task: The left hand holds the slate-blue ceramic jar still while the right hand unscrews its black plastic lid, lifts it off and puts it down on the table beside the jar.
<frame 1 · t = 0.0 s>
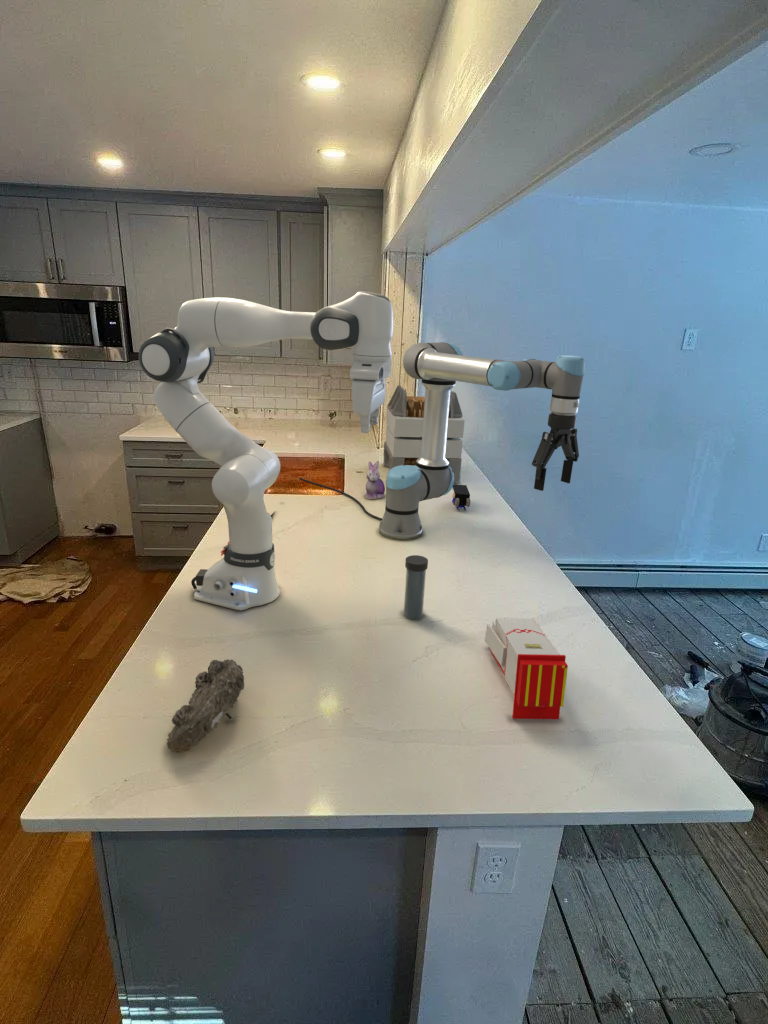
left hand: (369, 428, 133), 48 cm above the counter, tool pointing down, fingers open, 8 cm apart
right hand: (552, 485, 166), 28 cm above the counter, tool pointing down, fingers open, 13 cm apart
jar: (413, 614, 148), on the counter
fossil: (212, 717, 108), on the counter
white slatted box: (419, 473, 275), on the counter
lid: (416, 561, 142), point 15 cm above the counter, screwed on, not yet turned
toy: (517, 677, 124), on the counter
figurine: (374, 496, 238), on the counter
feather: (273, 515, 212), on the counter
figurine character: (459, 506, 231), on the counter
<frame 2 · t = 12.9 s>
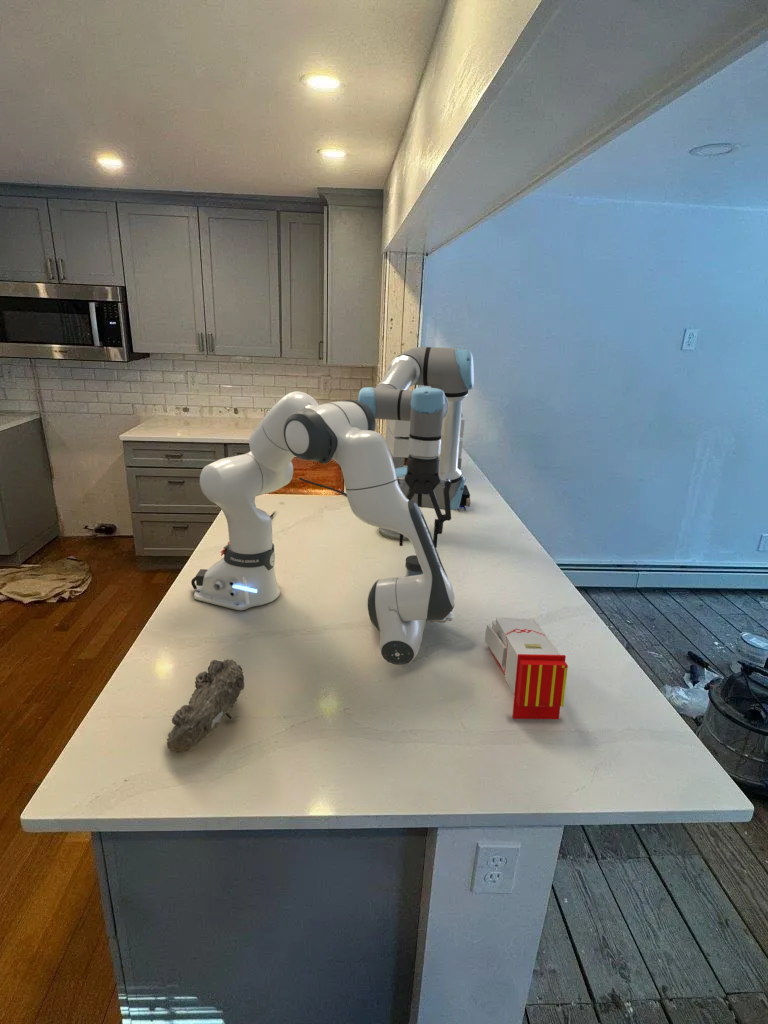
left hand: (414, 589, 146), 7 cm above the counter, tool horizontal, fingers closed on jar, 5 cm apart
right hand: (417, 544, 141), 20 cm above the counter, tool pointing down, fingers open, 8 cm apart
jar: (413, 614, 148), on the counter, touching left hand
everything else where it was.
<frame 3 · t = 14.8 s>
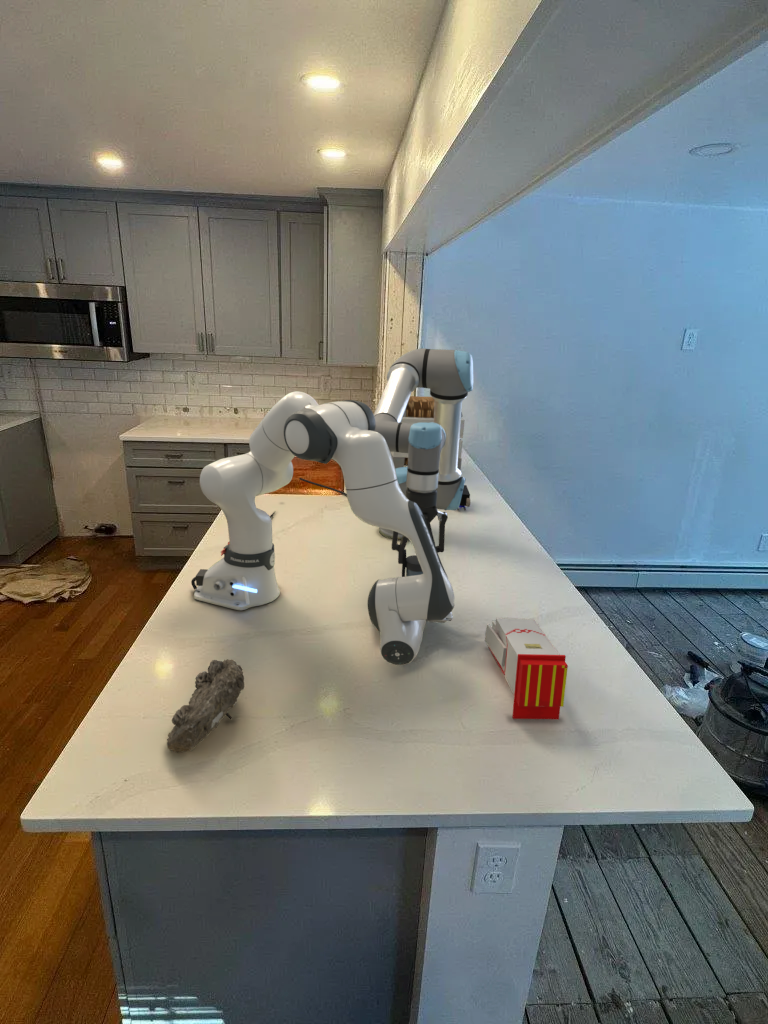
left hand: (414, 589, 146), 7 cm above the counter, tool horizontal, fingers closed on jar, 5 cm apart
right hand: (415, 575, 144), 11 cm above the counter, tool pointing down, fingers closed on lid, 6 cm apart
jar: (413, 614, 148), on the counter, touching left hand
lid: (416, 561, 142), point 15 cm above the counter, screwed on, not yet turned, touching right hand
everything else where it was.
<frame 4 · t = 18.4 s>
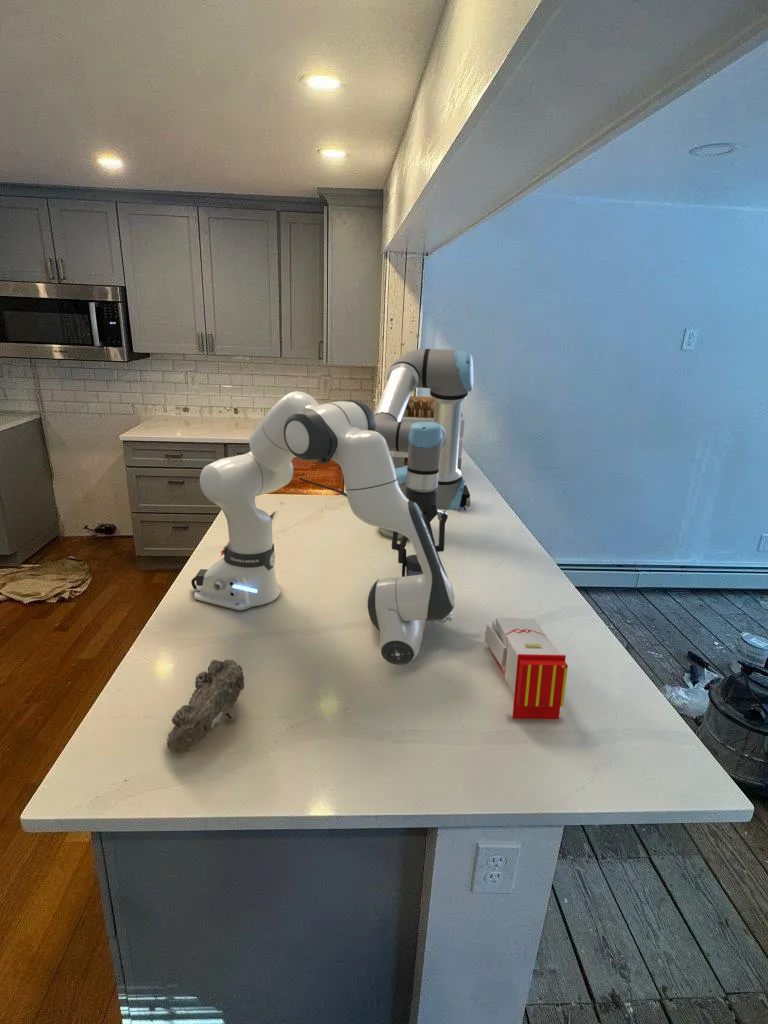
left hand: (414, 589, 146), 7 cm above the counter, tool horizontal, fingers closed on jar, 5 cm apart
right hand: (415, 574, 144), 11 cm above the counter, tool pointing down, fingers closed on lid, 6 cm apart
jar: (413, 614, 148), on the counter, touching left hand
lid: (416, 560, 142), point 15 cm above the counter, turned 123° so far, risen 0.2 cm, still on its thread, touching right hand
everything else where it was.
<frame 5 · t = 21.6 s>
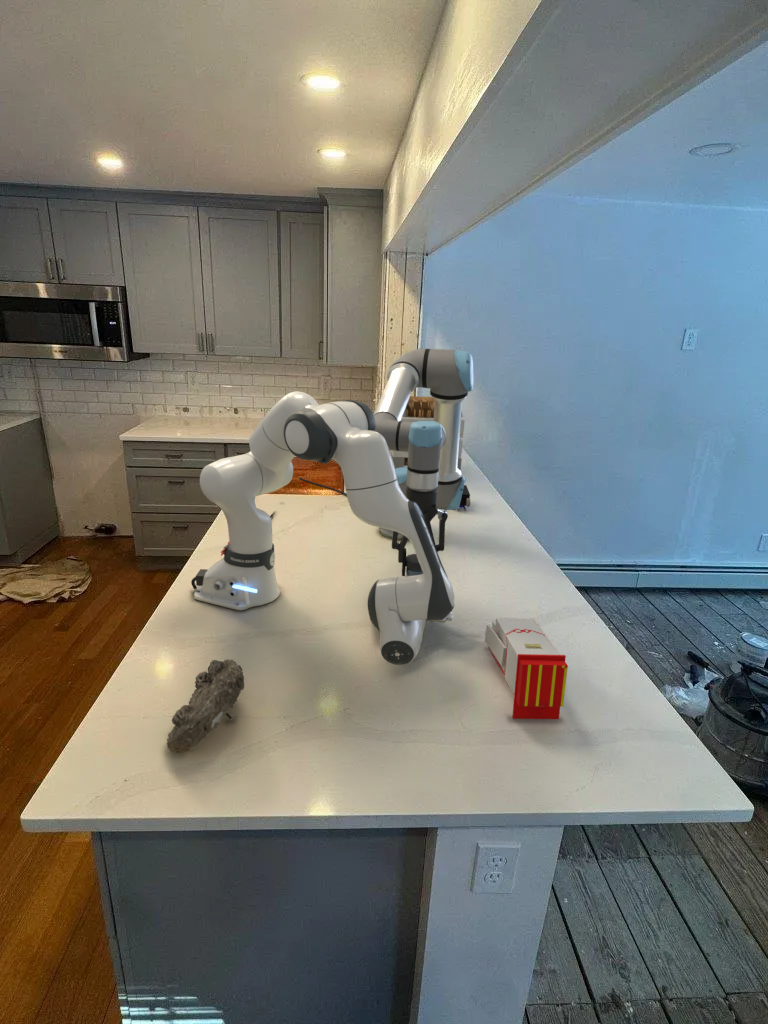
left hand: (414, 589, 146), 7 cm above the counter, tool horizontal, fingers closed on jar, 5 cm apart
right hand: (415, 574, 144), 12 cm above the counter, tool pointing down, fingers closed on lid, 6 cm apart
jar: (413, 614, 148), on the counter, touching left hand
lid: (416, 559, 142), point 16 cm above the counter, turned 246° so far, risen 0.3 cm, still on its thread, touching right hand
everything else where it was.
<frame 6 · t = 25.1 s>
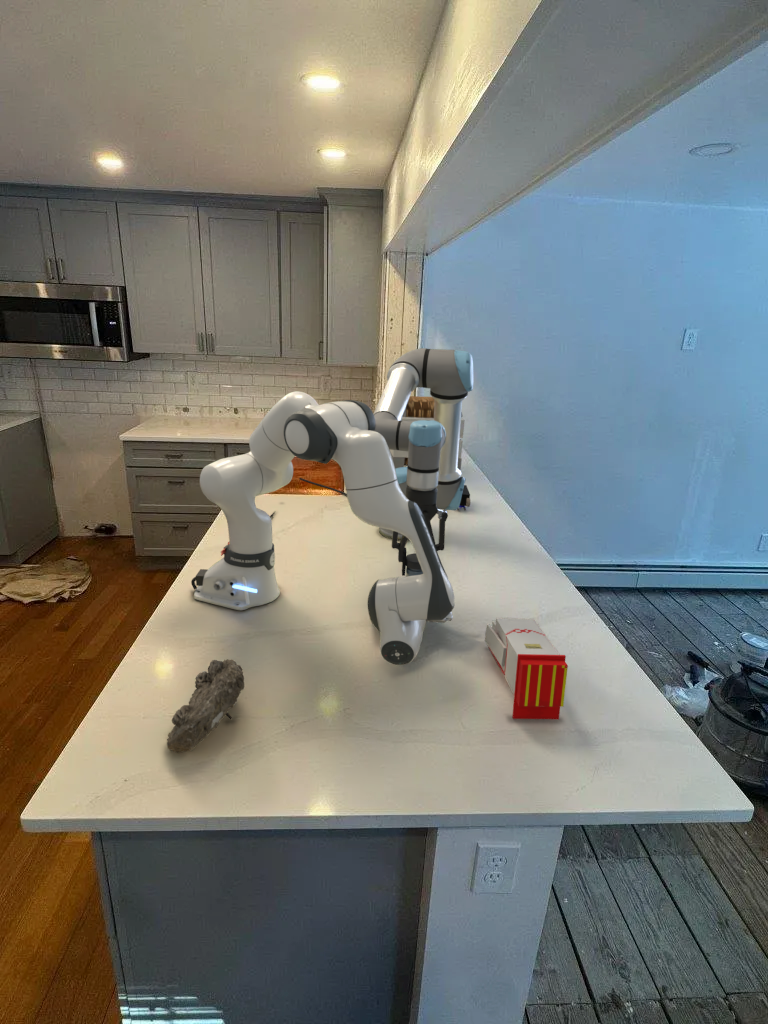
left hand: (414, 589, 146), 7 cm above the counter, tool horizontal, fingers closed on jar, 5 cm apart
right hand: (415, 573, 144), 12 cm above the counter, tool pointing down, fingers closed on lid, 6 cm apart
jar: (413, 614, 148), on the counter, touching left hand
lid: (416, 559, 142), point 16 cm above the counter, turned 369° so far, risen 0.5 cm, still on its thread, touching right hand
everything else where it was.
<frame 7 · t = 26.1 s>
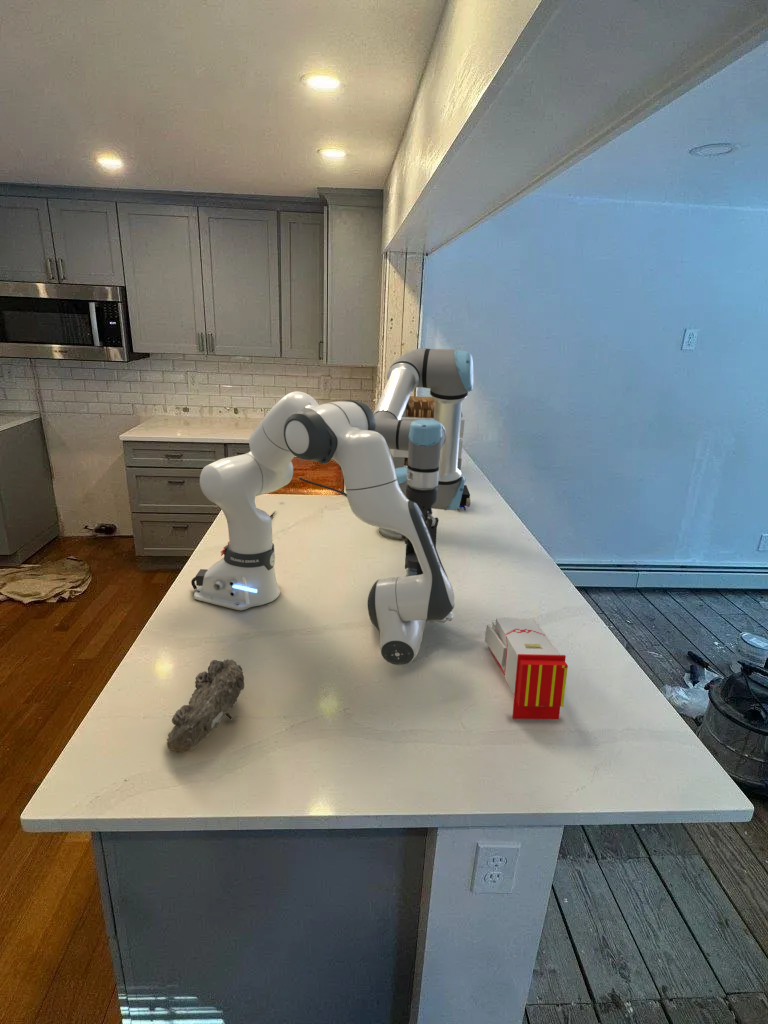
left hand: (414, 589, 146), 7 cm above the counter, tool horizontal, fingers closed on jar, 5 cm apart
right hand: (415, 573, 144), 12 cm above the counter, tool pointing down, fingers closed on lid, 6 cm apart
jar: (413, 614, 148), on the counter, touching left hand
lid: (416, 558, 142), point 16 cm above the counter, off its thread, touching right hand
everything else where it was.
when the right hand's fingers open (0 cm above the counter, at t = 33.4 s): lid drops 3 cm, point 2 cm above the counter.
when the left hand's fingers open (7 cm above the counter, at t = 34.1 s): jar stays where it is, on the counter.
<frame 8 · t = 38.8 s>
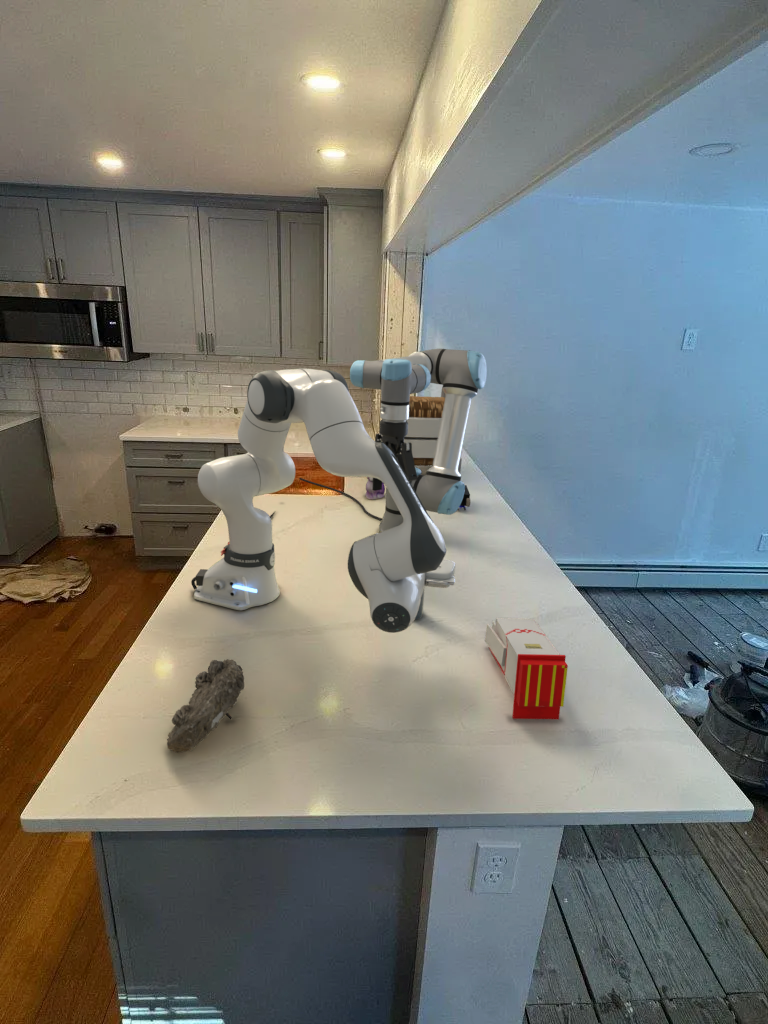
left hand: (412, 554, 129), 22 cm above the counter, tool horizontal, fingers open, 8 cm apart
right hand: (390, 496, 156), 26 cm above the counter, tool pointing down, fingers open, 13 cm apart
jar: (413, 614, 148), on the counter
lid: (385, 576, 164), point 2 cm above the counter, off its thread
everything else where it was.
at the end: lid came off its thread; lid point 1.6 cm above the counter; the left hand is holding nothing; the right hand is holding nothing; jar tilted 0°; jar moved 0.0 cm from its start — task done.
